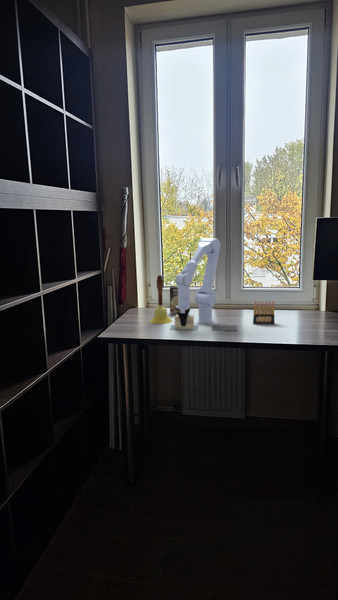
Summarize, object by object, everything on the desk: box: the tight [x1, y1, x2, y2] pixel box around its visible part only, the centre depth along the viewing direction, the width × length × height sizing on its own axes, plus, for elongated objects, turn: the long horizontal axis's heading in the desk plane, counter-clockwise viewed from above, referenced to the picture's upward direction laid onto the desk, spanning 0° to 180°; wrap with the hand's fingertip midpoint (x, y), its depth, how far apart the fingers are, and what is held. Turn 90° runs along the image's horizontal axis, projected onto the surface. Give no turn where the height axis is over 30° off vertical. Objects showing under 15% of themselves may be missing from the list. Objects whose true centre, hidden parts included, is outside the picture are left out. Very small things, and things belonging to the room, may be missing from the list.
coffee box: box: [169, 285, 180, 316], centre depth 239 cm, size 9×6×16 cm
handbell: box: [149, 274, 173, 325], centre depth 221 cm, size 12×12×25 cm
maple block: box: [174, 314, 195, 329], centre depth 207 cm, size 5×9×6 cm, turn 82°
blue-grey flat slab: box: [169, 324, 200, 331], centre depth 208 cm, size 10×14×1 cm
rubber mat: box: [211, 324, 238, 332], centre depth 205 cm, size 10×12×1 cm
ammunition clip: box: [252, 300, 276, 325], centre depth 212 cm, size 11×2×12 cm, turn 86°
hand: (184, 324), depth 207 cm, fingers open, 7 cm apart
